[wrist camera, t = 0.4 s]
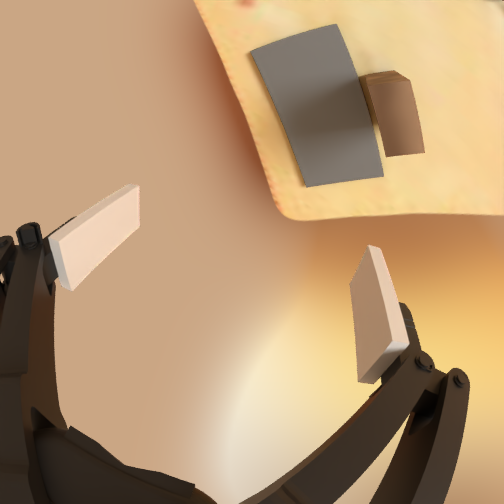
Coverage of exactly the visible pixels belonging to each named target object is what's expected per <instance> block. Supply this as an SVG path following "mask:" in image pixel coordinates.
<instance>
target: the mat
mask: <svg viewBox="0 0 504 504" xmlns="http://www.w3.org/2000/svg"><path fill="white" fill-rule="evenodd" d="M250 52H251V54H252V56H253V58H254V60H255V63H256V65H257V67H258V69H259V71H260V73H261V75H262V78H263V80H264V82H265V84H266V86H267V89H268V91H269V93H270V96H271V98H272V100H273V102H274V105H275V107H276V110H277V112H278V114H279V117H280V119H281V122H282V124H283V126H284V129H285V131H286V134H287V136H288V139H289V141H290V144H291V147H292V149H293V152H294V154H295V157H296V160H297V162H298V165H299V168H300V171H301V173H302V176H303V179H304V182H305V185H306V187H312V186H319V185H325V184H332V183H338V182H345V181H353V180H360V179H368V178H376V177H384V174H383V168H382V163H381V159H380V154H379V150H378V145H377V141H376V137H375V133H374V129H373V125H372V122H371V118H370V114H369V111H368V107H367V104H366V101H365V97H364V94H363V91H362V88H361V85H360V82H359V79H358V76H357V73H356V71H355V68H354V65H353V62H352V60H351V57H350V54H349V52H348V49H347V47H346V45H345V42H344V40H343V37H342V35H341V33H340V30H339V28H338V26H337V24H333V25H329V26H325V27H321V28H318V29H314V30H310V31H307V32H303V33H300V34H297V35H294V36H291V37H288V38H285V39H282V40H279V41H276V42H273V43H270V44H268V45H265V46H262V47H260V48H257V49H255V50H252V51H250Z"/></svg>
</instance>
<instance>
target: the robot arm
mask: <svg viewBox="0 0 504 504" xmlns="http://www.w3.org/2000/svg"><path fill="white" fill-rule="evenodd" d="M139 227H140V220H139V185H135V184H130V183H129V184H127V185H126V186H124V187H122V188H120V189H119V190H117V191H115V192H114V193H112V194H111V195H109V196H107V197H106V198H104V199H102V200H101V201H100V202H98V203H96V204H95V205H93V206H92V207H90V208H89V209H87V210H86V211H84V212H83V213H81V214H80V215H78V216H76V217H73V218H71V219H70V220H68V221H67V222H65V224H63V225H62V226H60V228H58V229H56V230H54V231H53V232H52V233H50V234H49V235H48V236H46V237H45V238H44V239H42V234H41V230H40V225H39V224H38V223H35V222H32V223H27V224H24V225H22V226H21V227H19V228H18V229H17V231H16V234H17V238H18V242H19V245H14V241H13V238H12V237H11V236H2V237H0V274H1V273H2V276H3V278H4V281H3V283H1V281H0V504H217V503H216V502H215V501H214V500H213V499H212V498H211V497H209V496H208V495H206V494H205V493H204V492H202V491H200V490H199V489H197V488H195V484H192V483H189V482H186V481H183V480H180V479H178V478H175V477H172V476H169V475H167V474H164V473H161V472H156V471H150V470H145V469H140V468H135V467H131V466H126V465H124V464H123V463H122V462H120V461H119V460H118V459H117V458H115V457H114V456H113V455H112V454H111V453H109V452H108V451H107V450H106V449H104V448H103V447H102V446H101V445H100V444H99V443H98V442H96V441H95V440H93V439H91V438H90V437H88V436H86V435H85V434H83V433H81V432H80V431H78V430H77V429H75V428H74V427H72V426H70V427H69V429H68V428H67V425H66V422H65V420H64V418H63V416H62V414H61V411H60V407H59V401H58V393H57V384H56V372H55V356H54V306H55V290H56V286H55V282H54V280H55V279H56V278H57V277H59V280H60V283H61V286H62V287H64V288H66V289H68V290H70V291H73V290H74V289H75V288H76V287H77V286H78V285H79V284H80V283H81V282H82V281H83V280H84V279H85V277H86V276H87V275H88V274H89V273H90V272H91V271H92V270H93V269H95V268H96V266H97V265H99V264H100V263H101V262H102V260H104V259H105V258H106V257H107V256H108V255H109V254H110V253H111V252H112V251H113V250H114V249H115V248H116V247H117V246H119V245H120V244H121V243H122V242H123V241H124V240H125V239H126V238H127V237H128V236H130V235H131V234H132V233H133V232H134V231H135V230H136V229H138V228H139ZM350 292H351V300H352V309H353V318H354V329H355V341H356V356H357V373H358V382H361V383H368V384H374V383H375V382H376V381H377V380H378V379H379V378H380V377H381V383H382V385H381V386H380V387H379V388H378V389H377V390H376V391H374V393H372V394H371V395H370V396H369V397H370V398H369V399H368V400H367V401H366V402H365V403H364V404H363V405H362V406H361V407H360V409H358V411H357V412H356V413H355V414H354V415H353V416H352V417H351V418H350V419H349V420H348V421H347V422H346V423H345V424H344V425H343V426H342V427H341V428H340V429H338V430H337V432H335V433H334V434H333V435H332V436H331V437H330V438H329V439H328V440H327V441H325V442H324V443H323V444H322V445H321V446H320V447H319V448H317V449H316V450H315V451H314V452H313V453H312V454H310V455H309V456H308V457H307V458H306V459H304V460H303V461H302V462H301V463H299V464H298V465H297V466H296V467H294V468H293V469H292V470H290V471H289V472H288V473H286V474H285V475H284V476H282V477H281V478H279V479H278V480H277V481H275V482H274V483H272V484H271V485H269V486H268V487H267V488H265V489H264V490H262V491H260V492H259V493H257V494H255V495H253V496H251V497H250V498H248V499H246V500H244V501H243V502H241V503H239V504H333V503H334V502H335V501H336V500H337V499H338V498H339V497H341V496H342V494H344V492H346V491H347V490H348V489H349V488H350V487H351V486H352V485H353V483H354V482H355V481H356V480H357V479H358V478H359V477H360V476H361V475H362V474H363V473H364V471H366V470H367V468H368V467H369V466H370V465H371V464H372V463H373V461H374V460H375V459H376V458H377V457H378V456H379V454H380V453H381V452H382V451H383V449H384V448H385V447H386V446H387V444H388V443H389V442H390V440H391V439H392V438H393V436H394V435H395V434H396V432H397V431H398V430H399V428H400V427H401V425H402V424H403V422H404V421H405V420H406V418H407V417H408V415H409V414H410V416H409V418H408V421H407V424H406V426H405V429H404V432H403V434H402V437H401V439H400V442H399V444H398V447H397V449H396V451H395V454H394V456H393V458H392V460H391V463H390V465H389V467H388V469H387V471H386V473H385V475H384V477H383V479H382V481H381V483H380V485H379V487H378V489H377V491H376V492H375V494H374V496H373V498H372V500H371V502H370V503H369V504H443V503H444V501H445V498H446V495H447V492H448V490H449V487H450V484H451V480H452V477H453V474H454V470H455V467H456V463H457V459H458V455H459V451H460V447H461V443H462V438H463V432H464V427H465V422H466V415H467V407H468V400H469V391H470V382H469V379H468V377H467V375H466V374H465V372H463V371H462V370H461V369H458V368H453V369H451V370H450V371H449V372H448V373H447V374H446V373H444V372H441V371H439V370H437V369H435V365H434V362H433V360H432V358H431V357H430V356H429V355H428V354H427V353H425V352H424V351H422V350H421V346H420V342H419V339H418V335H417V332H416V329H415V325H414V322H413V318H412V315H411V312H410V310H409V309H408V308H407V306H406V305H405V304H404V303H400V302H398V300H397V296H396V293H395V289H394V287H393V283H392V280H391V277H390V274H389V271H388V269H387V266H386V262H385V260H384V257H383V254H382V251H381V249H380V248H377V247H374V246H371V245H368V246H367V248H366V250H365V253H364V255H363V257H362V259H361V261H360V264H359V266H358V268H357V270H356V272H355V274H354V276H353V278H352V280H351V282H350Z"/></svg>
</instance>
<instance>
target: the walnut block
mask: <svg viewBox="0 0 504 504" xmlns="http://www.w3.org/2000/svg"><path fill="white" fill-rule="evenodd" d="M365 78H366V82H367V87H368V90H369V93H370V96H371V99H372V103H373V106H374V110H375V113H376V117H377V121H378V125H379V129H380V133H381V137H382V141H383V146H384V150H385V155H386V157H391V156H399V155H409V154H418V153H425V150H424V144H423V137H422V132H421V126H420V121H419V116H418V111H417V107H416V102H415V98H414V94H413V90H412V86H411V82H410V80H409V79H407V78H406V77H404V76H402V75H401V74H399V73H398V72H396V71H387V72H380V73H373V74H367V75H365Z"/></svg>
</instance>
